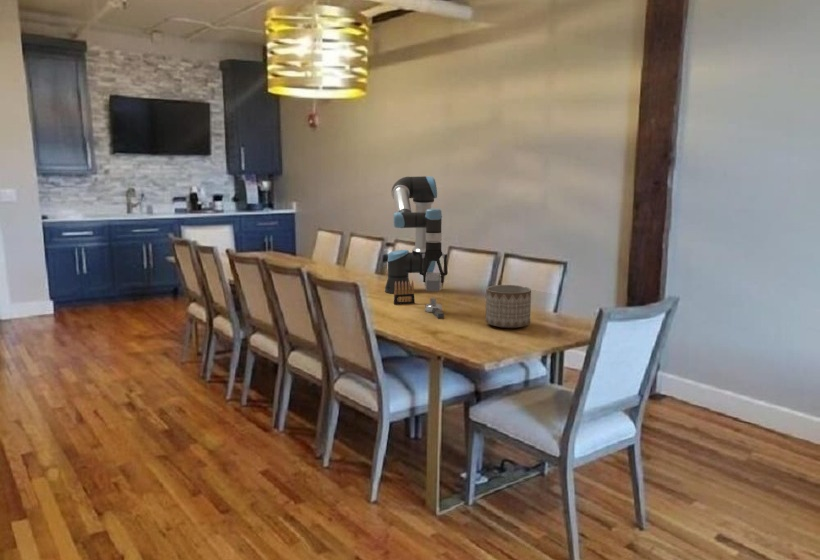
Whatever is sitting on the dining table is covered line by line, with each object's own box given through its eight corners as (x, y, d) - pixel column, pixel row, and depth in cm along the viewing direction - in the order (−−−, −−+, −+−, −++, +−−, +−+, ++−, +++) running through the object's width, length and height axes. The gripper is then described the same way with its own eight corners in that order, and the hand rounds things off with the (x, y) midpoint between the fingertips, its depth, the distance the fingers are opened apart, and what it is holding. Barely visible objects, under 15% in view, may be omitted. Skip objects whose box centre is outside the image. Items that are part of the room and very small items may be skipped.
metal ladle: (423, 309, 303) (423, 297, 302) (439, 309, 305) (439, 297, 304) (432, 319, 284) (432, 306, 283) (449, 318, 286) (449, 305, 284)
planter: (477, 322, 277) (478, 286, 274) (514, 318, 285) (515, 283, 282) (500, 332, 260) (501, 294, 257) (538, 328, 267) (540, 290, 264)
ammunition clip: (413, 302, 320) (413, 280, 318) (414, 303, 318) (414, 280, 316) (393, 303, 317) (393, 281, 315) (394, 304, 315) (394, 281, 313)
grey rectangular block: (428, 288, 302) (428, 272, 300) (440, 288, 301) (440, 272, 299) (426, 290, 296) (426, 274, 294) (438, 291, 295) (439, 274, 294)
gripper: (412, 242, 292) (412, 290, 296) (452, 242, 289) (452, 291, 293) (415, 240, 300) (415, 287, 303) (454, 241, 297) (453, 288, 300)
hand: (433, 289), depth 298 cm, fingers closed on grey rectangular block, 6 cm apart
